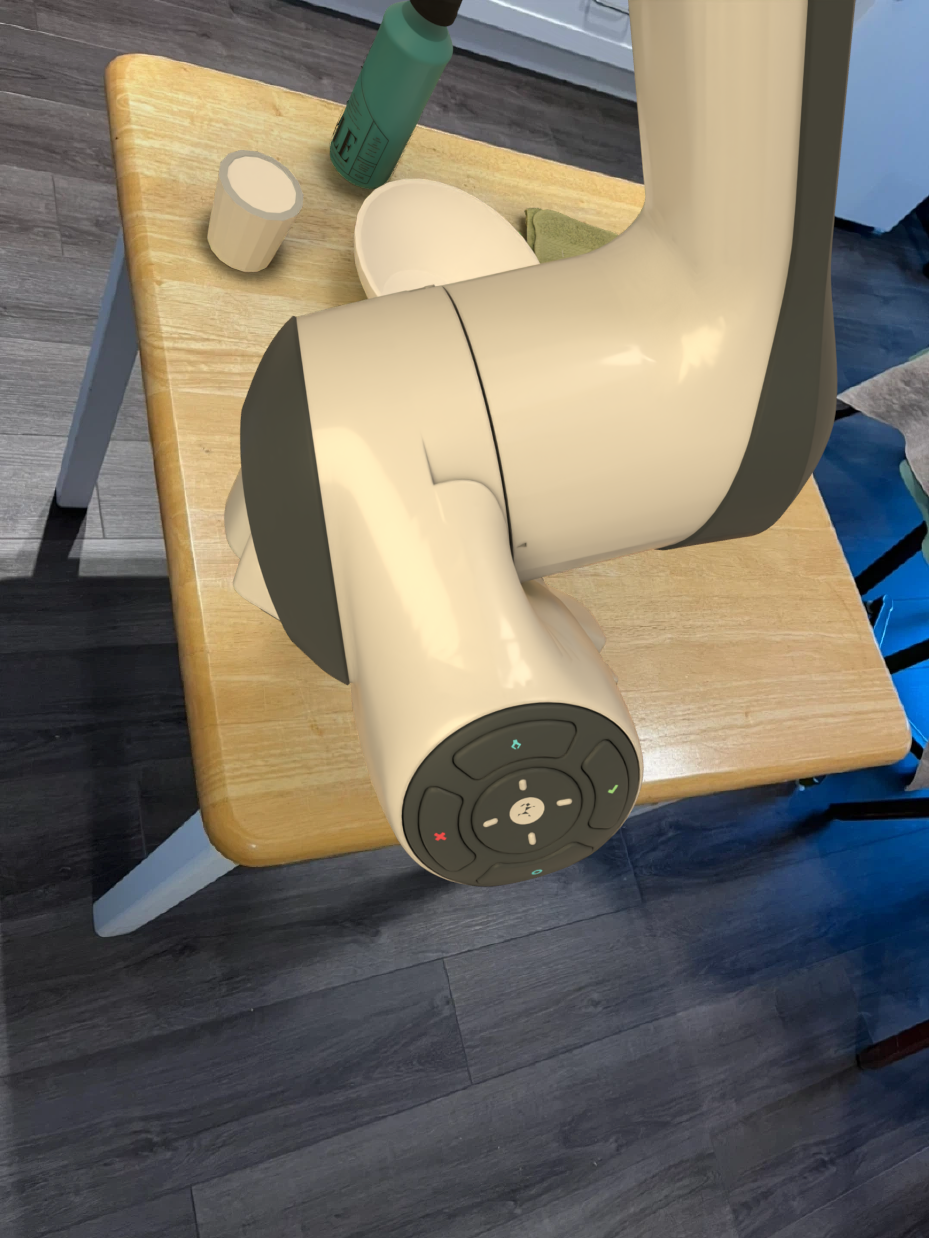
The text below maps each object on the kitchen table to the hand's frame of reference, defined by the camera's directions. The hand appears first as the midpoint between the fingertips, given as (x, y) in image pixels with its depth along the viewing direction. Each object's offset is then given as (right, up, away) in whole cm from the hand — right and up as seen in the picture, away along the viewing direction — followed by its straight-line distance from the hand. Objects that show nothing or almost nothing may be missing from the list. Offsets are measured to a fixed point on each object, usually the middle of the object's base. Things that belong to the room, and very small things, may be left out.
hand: (406, 529), depth 52 cm
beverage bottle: (-7, +37, +33) cm, 51 cm away
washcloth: (+17, +31, +45) cm, 57 cm away
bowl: (0, +23, +31) cm, 39 cm away
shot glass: (-16, +27, +24) cm, 39 cm away
